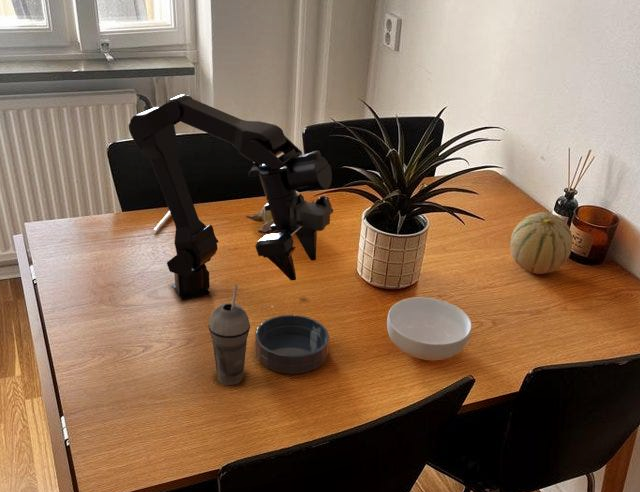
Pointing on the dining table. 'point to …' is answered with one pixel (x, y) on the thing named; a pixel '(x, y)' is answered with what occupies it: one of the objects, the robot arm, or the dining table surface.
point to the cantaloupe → (541, 243)
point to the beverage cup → (229, 340)
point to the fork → (162, 221)
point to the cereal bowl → (428, 328)
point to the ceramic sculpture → (264, 220)
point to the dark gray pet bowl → (291, 344)
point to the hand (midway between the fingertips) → (303, 269)
